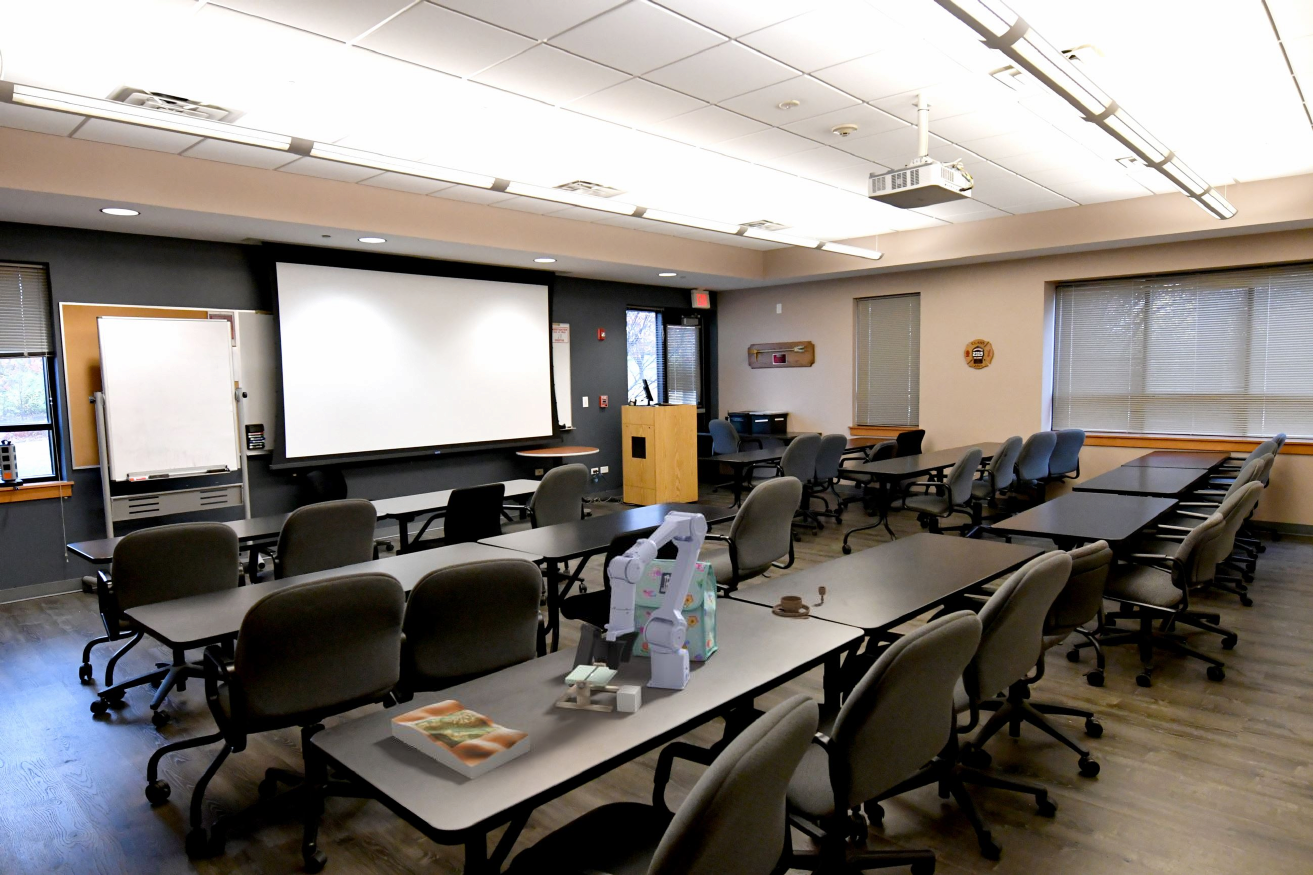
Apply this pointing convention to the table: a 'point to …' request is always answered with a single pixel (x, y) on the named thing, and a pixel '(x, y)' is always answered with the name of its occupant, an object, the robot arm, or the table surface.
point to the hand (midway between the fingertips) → (618, 665)
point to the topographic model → (460, 737)
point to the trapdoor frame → (585, 695)
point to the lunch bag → (695, 609)
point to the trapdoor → (590, 675)
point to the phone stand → (590, 647)
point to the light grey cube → (629, 698)
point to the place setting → (796, 605)
